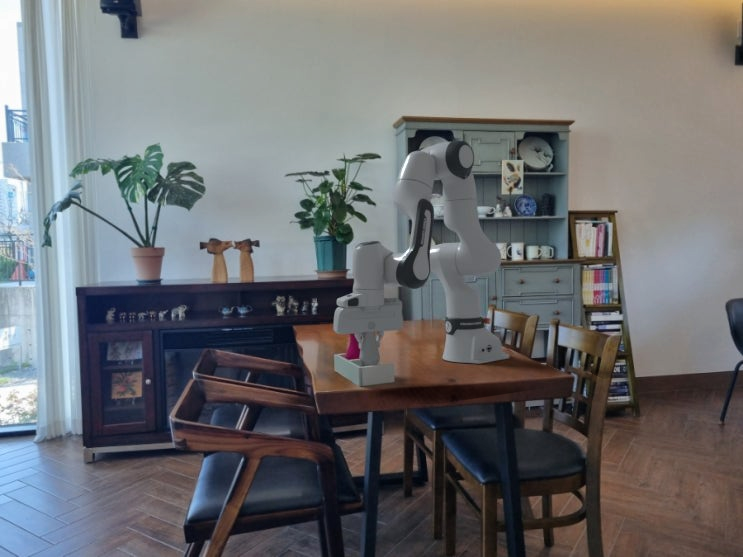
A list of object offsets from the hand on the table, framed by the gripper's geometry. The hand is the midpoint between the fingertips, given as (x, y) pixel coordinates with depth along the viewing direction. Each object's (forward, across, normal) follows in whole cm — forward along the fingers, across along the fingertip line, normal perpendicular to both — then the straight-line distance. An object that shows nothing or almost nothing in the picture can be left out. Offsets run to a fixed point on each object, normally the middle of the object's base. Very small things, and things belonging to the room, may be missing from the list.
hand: (369, 347), depth 141 cm
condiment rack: (+9, 0, -5) cm, 10 cm away
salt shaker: (+5, 0, 0) cm, 5 cm away
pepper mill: (+9, 0, -10) cm, 14 cm away
